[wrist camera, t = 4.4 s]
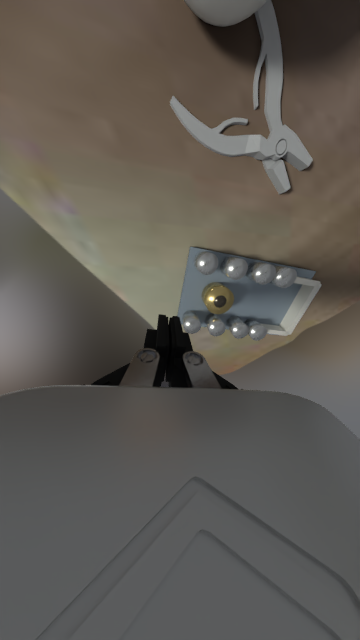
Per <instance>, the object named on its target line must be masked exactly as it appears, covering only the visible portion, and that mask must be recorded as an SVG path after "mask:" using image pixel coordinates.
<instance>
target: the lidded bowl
mask: <svg viewBox="0 0 360 640" xmlns="http://www.w3.org/2000/svg"><path fill="white" fill-rule="evenodd" d="M266 1H267V0H184V2H185V3H186V5H187V6H188V7H189V8H190V9H191V10H192V11H193V13H194V14H195V15H196V16H198V17H199V18H200V19H202V20H203V21H204V22H206V23H209V24H211V25H214V26H223V27H225V26H230V25H235V24H237V23H239V22H241V21H243V20H245V19H246V18H248V17H250V16H251V15H252V14H253V13H255V12H256V11H257V10H258V9H260V8H261V7H262V6H263V4H264V3H265V2H266Z"/></svg>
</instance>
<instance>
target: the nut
mask: <svg viewBox="0 0 360 640" xmlns="http://www.w3.org/2000/svg"><path fill="white" fill-rule="evenodd" d="M201 297H202V301H203V302H204V304H205V306H206V307H207V309H208V310H209V311H210V312H211V313H213V314H223V313H225V312H227V311H228V310H229V309H230V308H231V307H232V305H233V302H234V295H233V293H232V292H231V291H230V290H229V289H228V288H227V287H225V286H224V285H223V284H221V283H219V282H212V283H210V284H208V285H207V286H205V288H204V289H203V291H202V295H201Z"/></svg>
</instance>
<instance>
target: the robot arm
mask: <svg viewBox="0 0 360 640" xmlns="http://www.w3.org/2000/svg"><path fill="white" fill-rule="evenodd" d="M165 370H166V382H169V387H160V386H161V382H163V381H164V376H165ZM0 640H360V439H358V437H357V436H356V435H355V434H353V433H352V432H351V431H350V430H349V429H348V428H347V427H346V426H345V425H344V424H343V423H342V422H341V421H339V420H338V419H337V418H336V417H335V416H334V415H333V414H332V413H331V412H329V411H328V410H327V409H325V408H324V407H322V406H321V405H319V404H317V403H315V402H313V401H310V400H308V399H305V398H302V397H300V396H296V395H292V394H288V393H281V392H272V391H260V390H243V389H241V390H239V389H238V388H236V387H235V386H234V385H233V384H231V383H230V382H228V381H227V380H225V379H223V378H222V377H221V376H219V375H218V374H216V373H215V372H213V371H212V370H211V369H210V367H209V365H208V363H207V361H206V360H205V358H204V357H203V356H202V355H201V354H199V353H197V352H194V351H193V349H192V345H191V342H190V338H189V334H188V333H184V332H183V331H182V326H181V321H180V317H177V316H173V317H172V318H170V320H169V325H168V317H166V315H159V318H158V326H157V330H152V329H147V334H146V338H145V343H144V348H143V349H140V350H138V351H137V352H136V353H135V355H134V357H133V359H132V361H131V363H129V364H127V365H125V366H123V367H121V368H119V369H117V370H116V371H114V372H112V373H110V374H108V375H106V376H104V377H103V378H101V379H99V380H97V381H95V382H94V383H93V384H91V385H85V384H83V385H60V386H44V387H37V388H30V389H24V390H20V391H15V392H11V393H7V394H3V395H0Z"/></svg>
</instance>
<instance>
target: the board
mask: <svg viewBox="0 0 360 640" xmlns="http://www.w3.org/2000/svg"><path fill="white" fill-rule="evenodd" d="M201 251H206V252H210V253H213V254H215V255H216V256H217V258H218V267H217V269H216V271H215V272H214V273H212V274H210V275H204V274H202V273H201V272H199V271H198V270H197V269H196V268H195V266H194V257H195V256H196V254H197V253H199V252H201ZM230 256H232V257H236V258H241V259H244V260H245V261H246V262H247V264H248V265H249V264H250V263H252V262H255V261H257V262H262V263H267V264H271V265H278V266H283V267H287V268H292V269H294V270H296V272H297V278H296V280H295V282H294V283H293V284H292V285H291V286H289V287H287V288H281V287H278V286H276V285H273V284H271V283H267V284H264V285H262V284H259V283H257V282H255V281H252V280H250V279H248V278H247V277H246V275H245V276H244V277H243V278H241V279H239V280H233V279H231V278H229V277H228V276H226V275H224V274H223V273H222V272H221V270H220V265H221V262H222V261H223V260H224V259H225V258H226V257H230ZM315 273H316V271H311V270H306V269H301V268H296V267H291V266H286V265H281V264H276V263H270V262H265V261H260V260H255V259H250V258H245V257H240V256H235V255H230V254H225V253H220V252H215V251H209V250H204V249H199V248H194V247H190V250H189V255H188V261H187V266H186V272H185V277H184V283H183V288H182V293H181V299H180V304H179V310H178V315H177V317H180V321H181V324H183V320H182V316H183V314H184V313H185V312H186V311H189V310H192V311H194V312H196V314H197V316H198V318H199V321H200V323H201V326H202V327H207V326H206V324H205V318H206V316H207V315H209V314H212V313H211V312H210V311H209V310H208V309H207V307H206V306H205V304H204V302H203V301H202V297H201V295H202V291H203V289H204V288H205V286H207V285H208V284H210V283H212V282H219V283H221V284H223V285H224V286H225V287H227V288H228V289H229V290H230V291H231V292H232V293H233V295H234V302H233V305H232V307H231V308H230V309H229V310H228V311H227V312H225V313H223V314H217V315H218V316H219V317H220V319H221V320H222V322H223V323H224V325H225V327H226V329H228V327H227V326H226V322H227V320H228V319H229V318H230V317H233V316H237V317H239V318H240V319H241V320H242V321H243V322H245V321H246V320H247V319H250V318H253V319H255V320H256V321H258V322H259V323H260V324H261V325H262V326H263V327H264V328H266V330H267V334H273V335H285V336H287V335H288V334H291V333H292V331H293V330H294V328H295V327H296V325H297V323H298V322H299V320H300V319H301V317H302V316H303V314H304V312H305V311H306V309H307V308H308V306H309V304H310V303H311V301H312V300H313V298H314V297H315V295H316V293H317V292H318V290H319V289H320V287H321V286H322V284H320V281H316V280H312V278H313V276H314V274H315ZM228 330H229V329H228Z"/></svg>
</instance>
